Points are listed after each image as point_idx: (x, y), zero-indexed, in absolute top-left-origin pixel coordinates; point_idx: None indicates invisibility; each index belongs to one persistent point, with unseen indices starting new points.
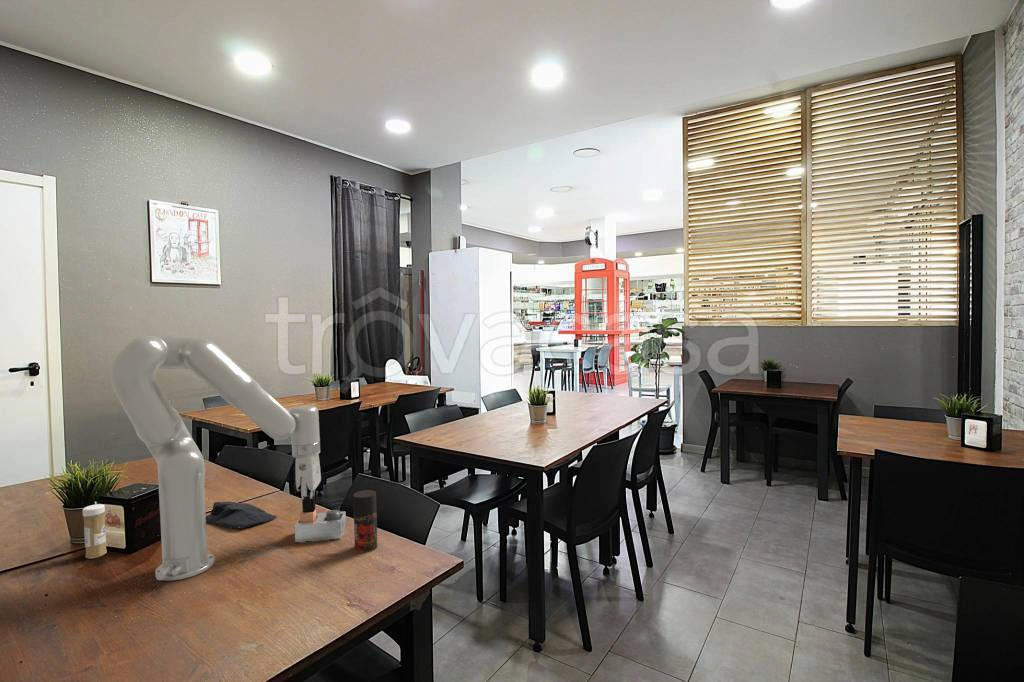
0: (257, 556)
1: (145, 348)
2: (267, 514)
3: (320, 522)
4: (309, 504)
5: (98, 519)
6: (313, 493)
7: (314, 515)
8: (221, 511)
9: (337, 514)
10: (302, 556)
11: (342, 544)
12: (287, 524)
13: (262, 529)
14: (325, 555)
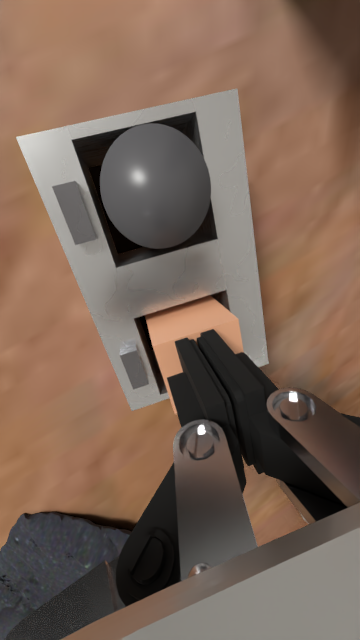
0: (312, 383)
1: None
2: (48, 548)
3: (241, 246)
4: (262, 376)
5: None
6: (227, 444)
7: (192, 319)
8: None
9: (181, 137)
10: (339, 242)
11: (257, 97)
12: (76, 448)
13: (131, 488)
14: (349, 144)
